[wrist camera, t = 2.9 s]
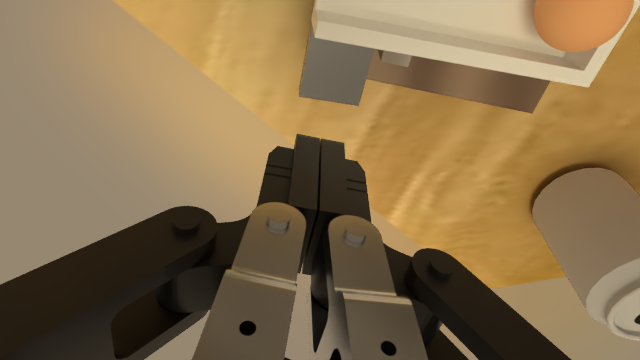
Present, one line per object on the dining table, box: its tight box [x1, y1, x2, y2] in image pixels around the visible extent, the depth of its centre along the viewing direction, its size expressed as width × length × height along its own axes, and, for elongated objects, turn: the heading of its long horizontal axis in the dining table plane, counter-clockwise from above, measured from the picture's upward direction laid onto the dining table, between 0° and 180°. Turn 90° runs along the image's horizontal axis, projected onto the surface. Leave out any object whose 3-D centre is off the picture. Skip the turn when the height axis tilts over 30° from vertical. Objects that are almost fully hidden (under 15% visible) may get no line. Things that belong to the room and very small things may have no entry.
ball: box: [534, 0, 634, 52], centre depth 19 cm, size 4×4×4 cm
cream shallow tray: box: [299, 0, 640, 106], centre depth 21 cm, size 15×11×3 cm
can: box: [532, 168, 640, 340], centre depth 30 cm, size 8×8×12 cm
